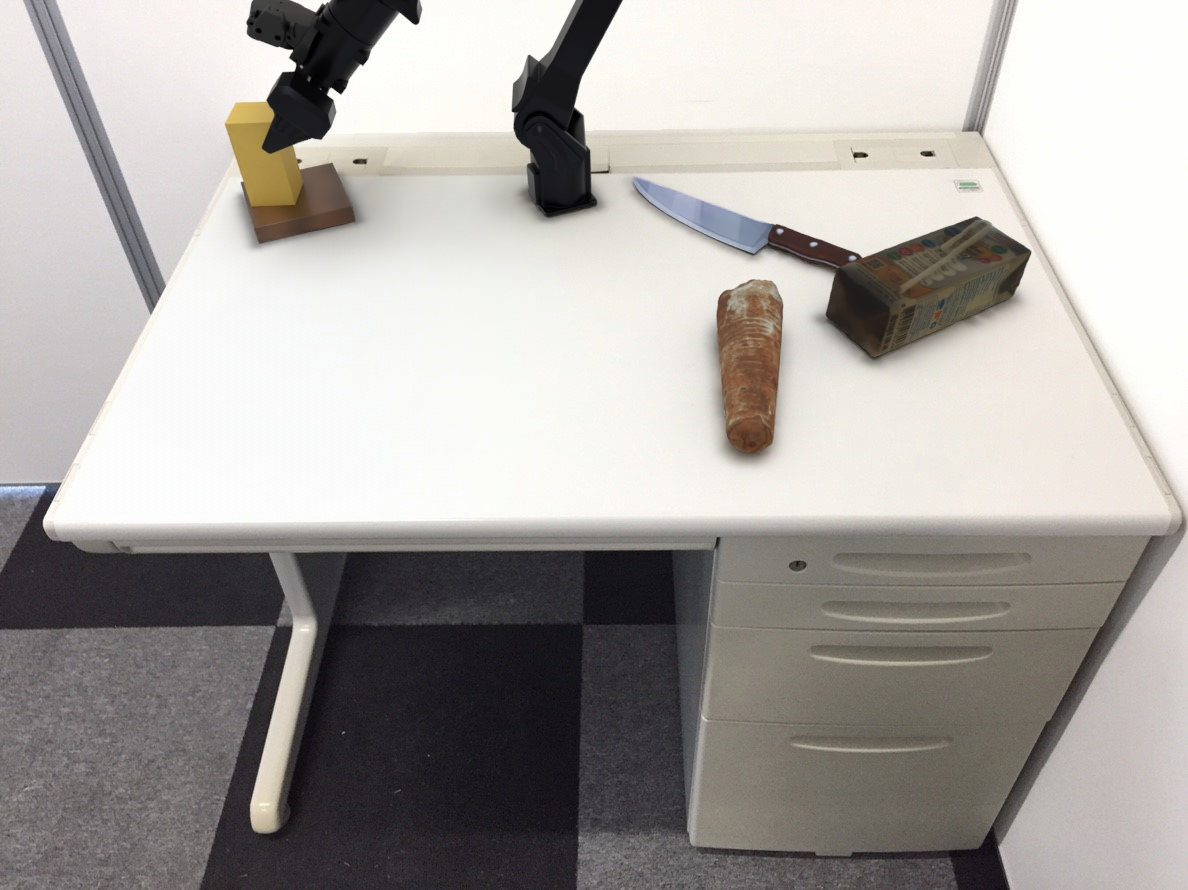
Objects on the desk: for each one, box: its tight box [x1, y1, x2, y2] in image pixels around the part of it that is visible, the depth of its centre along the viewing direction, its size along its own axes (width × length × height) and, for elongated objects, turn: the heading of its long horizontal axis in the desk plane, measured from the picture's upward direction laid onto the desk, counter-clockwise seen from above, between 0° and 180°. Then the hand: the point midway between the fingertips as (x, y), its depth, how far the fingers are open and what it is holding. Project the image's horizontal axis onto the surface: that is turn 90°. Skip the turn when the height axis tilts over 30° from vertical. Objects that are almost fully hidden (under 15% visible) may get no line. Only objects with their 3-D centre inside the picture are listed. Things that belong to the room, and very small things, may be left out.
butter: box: [224, 101, 303, 207], centre depth 103 cm, size 5×5×10 cm
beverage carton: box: [825, 215, 1033, 358], centre depth 90 cm, size 8×19×7 cm, turn 120°
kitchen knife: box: [632, 176, 863, 270], centre depth 102 cm, size 5×31×2 cm, turn 51°
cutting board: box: [240, 162, 356, 244], centre depth 107 cm, size 11×11×2 cm
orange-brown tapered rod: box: [715, 278, 784, 454], centre depth 83 cm, size 6×19×6 cm, turn 171°
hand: (274, 130), depth 101 cm, fingers open, 9 cm apart
